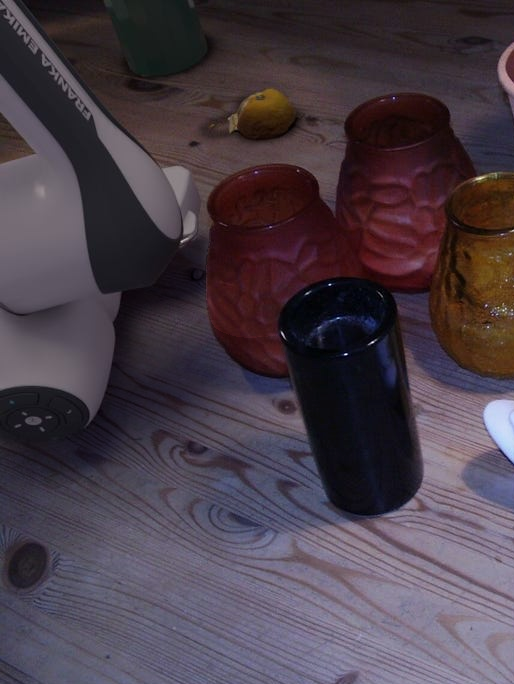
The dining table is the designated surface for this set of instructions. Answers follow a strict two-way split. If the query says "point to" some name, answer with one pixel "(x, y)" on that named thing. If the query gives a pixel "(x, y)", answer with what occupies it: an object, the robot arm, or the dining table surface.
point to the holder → (158, 34)
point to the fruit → (263, 115)
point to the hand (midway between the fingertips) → (82, 169)
